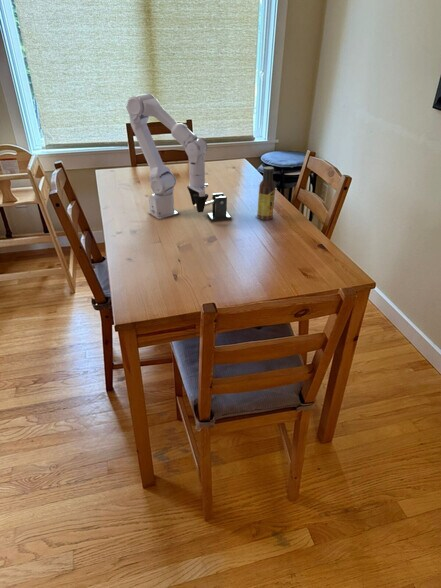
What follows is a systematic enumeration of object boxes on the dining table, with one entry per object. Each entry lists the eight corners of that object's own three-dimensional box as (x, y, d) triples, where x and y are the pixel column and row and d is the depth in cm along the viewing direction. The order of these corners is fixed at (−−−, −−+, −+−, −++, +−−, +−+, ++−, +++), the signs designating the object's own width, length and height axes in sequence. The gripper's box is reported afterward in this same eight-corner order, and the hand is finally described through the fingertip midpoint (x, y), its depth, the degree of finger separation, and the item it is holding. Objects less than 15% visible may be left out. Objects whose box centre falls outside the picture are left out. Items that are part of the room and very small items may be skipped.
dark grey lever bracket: (211, 221, 159) (211, 199, 154) (207, 215, 164) (207, 193, 158) (231, 219, 161) (231, 197, 156) (226, 213, 166) (226, 191, 160)
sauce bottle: (271, 221, 160) (276, 171, 149) (256, 220, 161) (259, 170, 150) (273, 215, 165) (277, 166, 154) (258, 213, 166) (261, 164, 155)
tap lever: (195, 212, 156) (194, 205, 155) (193, 209, 159) (192, 202, 157) (224, 203, 158) (223, 196, 156) (222, 200, 160) (221, 193, 159)
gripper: (213, 178, 145) (213, 214, 152) (202, 166, 156) (202, 200, 164) (193, 180, 143) (194, 216, 151) (184, 168, 155) (185, 202, 162)
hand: (197, 208), depth 157 cm, fingers open, 7 cm apart
